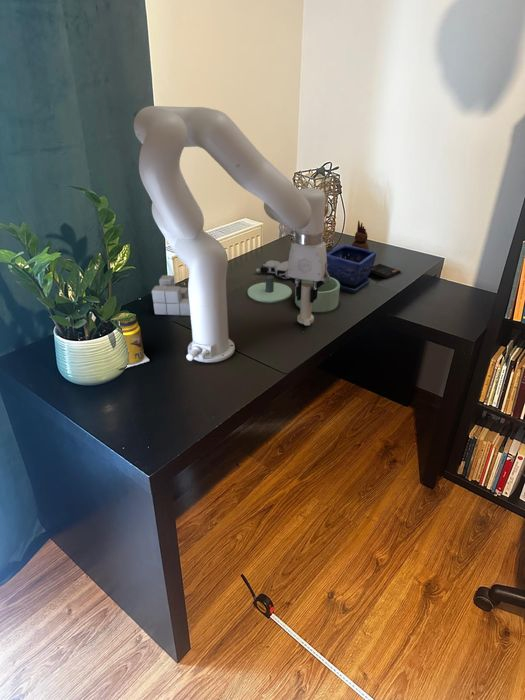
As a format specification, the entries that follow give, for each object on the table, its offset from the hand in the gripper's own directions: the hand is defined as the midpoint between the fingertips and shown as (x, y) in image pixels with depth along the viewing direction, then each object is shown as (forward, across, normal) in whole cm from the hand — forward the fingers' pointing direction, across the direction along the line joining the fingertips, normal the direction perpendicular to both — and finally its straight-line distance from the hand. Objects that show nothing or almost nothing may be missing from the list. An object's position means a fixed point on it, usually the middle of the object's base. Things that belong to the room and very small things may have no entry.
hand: (306, 299), depth 141 cm
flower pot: (+9, +5, +32) cm, 33 cm away
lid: (+8, -18, +16) cm, 25 cm away
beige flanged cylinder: (+7, 0, 0) cm, 7 cm away
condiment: (+8, -37, -35) cm, 52 cm away
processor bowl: (+9, -1, +15) cm, 17 cm away
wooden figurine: (+9, +3, +57) cm, 58 cm away
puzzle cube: (+9, -41, -3) cm, 42 cm away
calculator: (+9, +13, +47) cm, 49 cm away
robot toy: (+9, -20, +33) cm, 40 cm away
